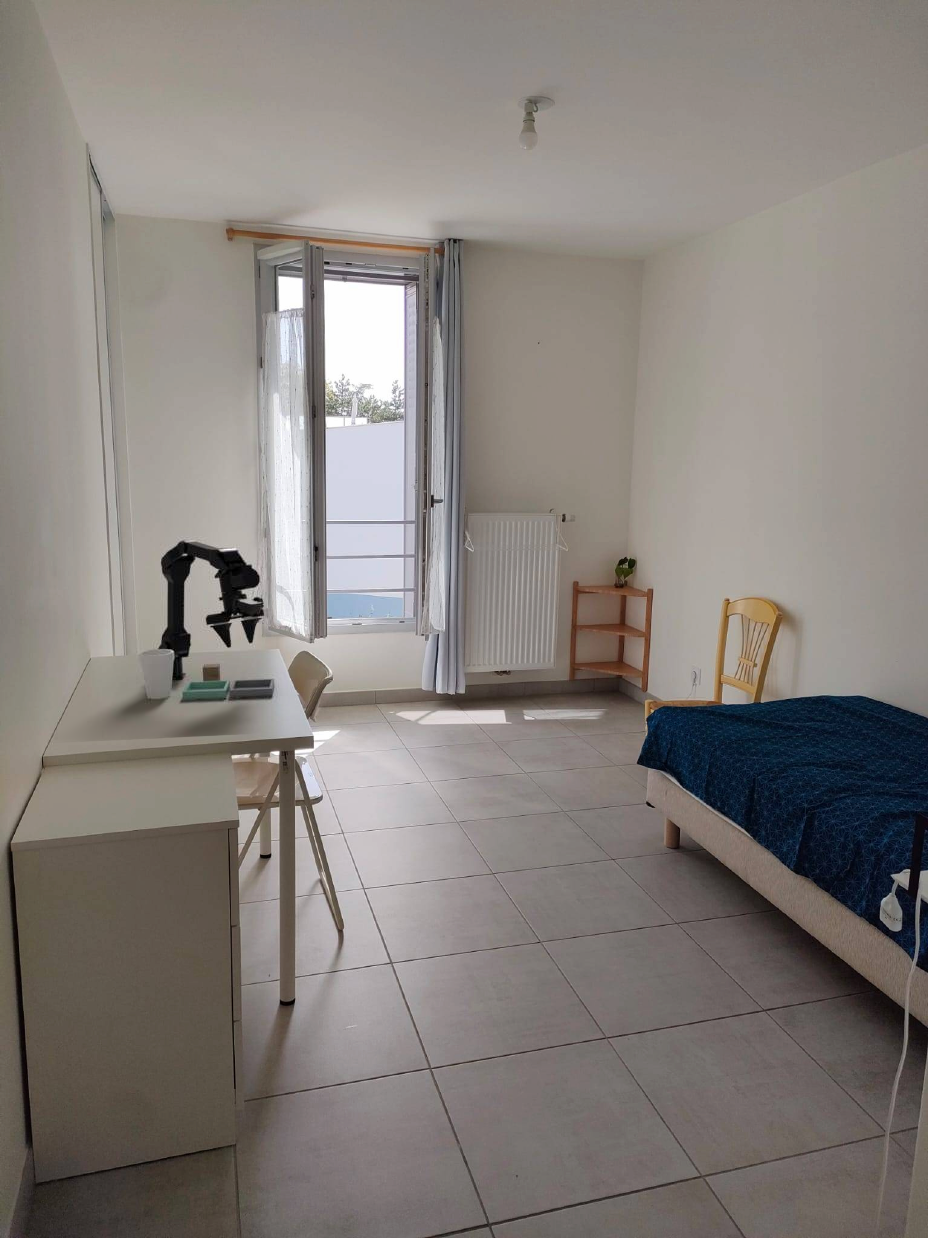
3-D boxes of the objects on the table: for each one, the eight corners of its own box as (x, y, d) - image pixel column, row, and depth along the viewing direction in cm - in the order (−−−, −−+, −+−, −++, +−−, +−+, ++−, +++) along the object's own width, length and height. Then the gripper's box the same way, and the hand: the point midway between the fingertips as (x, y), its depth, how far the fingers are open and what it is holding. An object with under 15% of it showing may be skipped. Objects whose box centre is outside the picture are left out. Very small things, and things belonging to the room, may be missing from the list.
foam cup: (181, 692, 259) (179, 649, 257) (168, 700, 250) (165, 656, 248) (150, 691, 260) (148, 648, 258) (136, 699, 251) (133, 655, 249)
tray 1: (188, 690, 262) (188, 681, 262) (230, 688, 264) (229, 680, 263) (182, 700, 250) (182, 692, 250) (226, 698, 252) (225, 690, 252)
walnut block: (205, 683, 271) (204, 664, 270) (220, 682, 271) (219, 663, 270) (203, 686, 266) (202, 667, 265) (218, 686, 267) (217, 666, 266)
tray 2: (233, 688, 264) (233, 680, 264) (274, 686, 266) (274, 678, 265) (229, 698, 252) (229, 690, 252) (272, 696, 254) (272, 688, 254)
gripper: (230, 591, 241) (239, 647, 241) (274, 585, 257) (282, 638, 258) (200, 596, 246) (209, 651, 247) (245, 590, 262) (253, 642, 263)
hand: (240, 645), depth 253 cm, fingers open, 9 cm apart
